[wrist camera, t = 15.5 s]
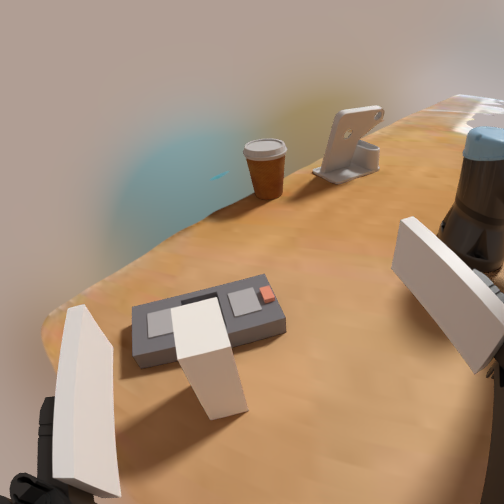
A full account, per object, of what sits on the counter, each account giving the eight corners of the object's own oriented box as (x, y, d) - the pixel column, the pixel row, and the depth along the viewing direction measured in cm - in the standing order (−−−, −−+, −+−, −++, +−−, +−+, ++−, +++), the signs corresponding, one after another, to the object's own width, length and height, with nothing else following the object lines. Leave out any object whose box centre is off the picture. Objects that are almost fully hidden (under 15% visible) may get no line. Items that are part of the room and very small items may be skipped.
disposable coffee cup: (290, 202, 69) (287, 150, 62) (247, 204, 70) (240, 153, 63) (288, 183, 76) (285, 136, 69) (249, 185, 77) (243, 139, 70)
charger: (235, 368, 38) (216, 295, 30) (248, 410, 33) (231, 346, 25) (200, 377, 37) (170, 307, 29) (210, 420, 32) (177, 359, 24)
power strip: (266, 288, 48) (264, 270, 46) (286, 332, 41) (285, 313, 39) (138, 320, 45) (130, 303, 43) (140, 368, 38) (130, 352, 36)
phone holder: (356, 158, 87) (357, 98, 76) (382, 169, 79) (386, 106, 68) (310, 172, 81) (308, 105, 70) (336, 185, 73) (337, 112, 63)
